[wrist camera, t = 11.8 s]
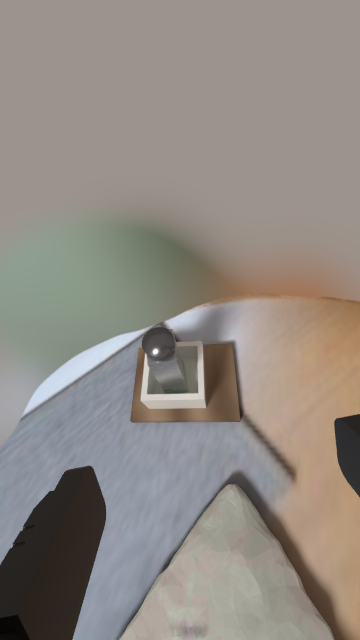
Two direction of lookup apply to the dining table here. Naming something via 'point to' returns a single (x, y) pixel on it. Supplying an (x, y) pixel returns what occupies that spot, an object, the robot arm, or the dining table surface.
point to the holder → (195, 380)
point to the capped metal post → (165, 360)
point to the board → (218, 391)
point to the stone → (228, 584)
